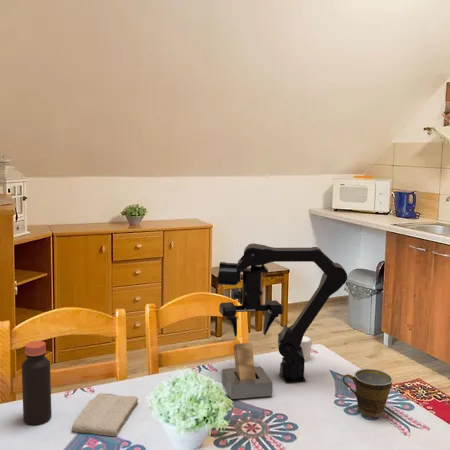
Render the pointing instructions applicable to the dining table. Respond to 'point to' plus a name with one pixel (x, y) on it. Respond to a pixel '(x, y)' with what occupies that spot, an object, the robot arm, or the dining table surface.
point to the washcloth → (105, 414)
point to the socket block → (247, 384)
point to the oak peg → (244, 361)
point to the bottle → (36, 384)
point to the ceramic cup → (371, 390)
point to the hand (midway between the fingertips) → (250, 335)
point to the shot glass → (306, 347)
